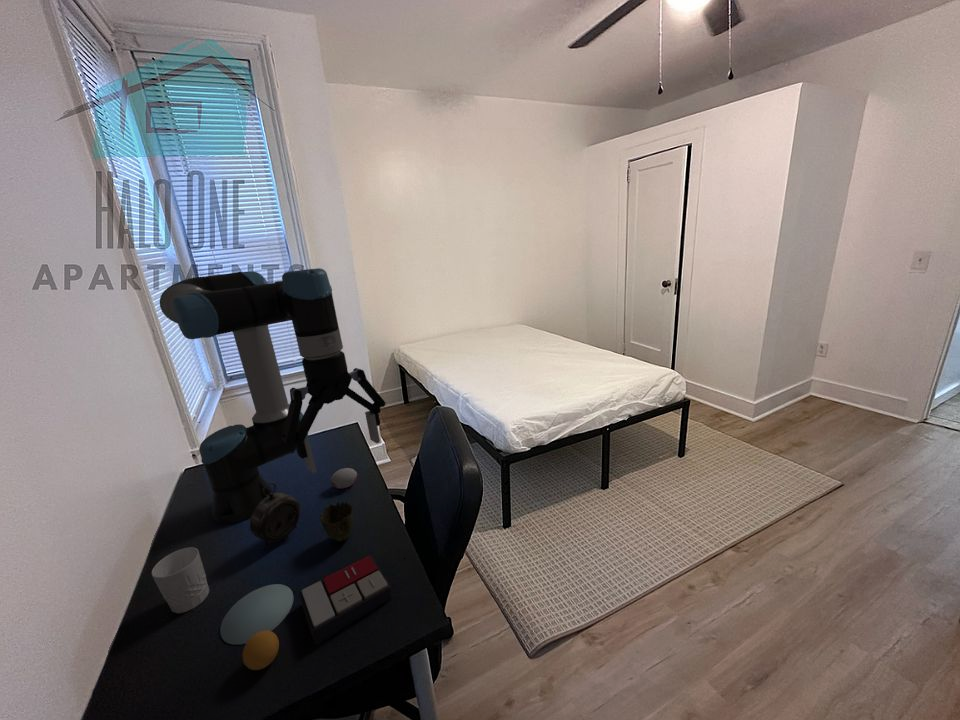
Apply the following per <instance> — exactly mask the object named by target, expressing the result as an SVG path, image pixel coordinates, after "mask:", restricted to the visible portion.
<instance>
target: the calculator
mask: <svg viewBox="0 0 960 720" xmlns="http://www.w3.org/2000/svg"><path fill="white" fill-rule="evenodd" d="M298 593H299V598H300V602H301V607H302V610H303V613H304V616H305V619H306V622H307V624H308V629H309V631H310V634H311V637H312V640H313V643H314V645H315V646H317V645H319V644H321V643H322V642H324V641H326V640H327V639H329V638H330V637H333V636H334V635H335V634H336V633H338V632H340V630H341V629H343V628H345V627H347V626H349V625H351V624H352V623H354V622H356V621H357V620H359V619H360V618H362V617H365V615H368V614H369V613H370V612H372V611H374V610H375V609H377V608H379V607H380V606H382V605H383V604H385V603H386V602H388V601H390V600H391V599H392V598H393V592H392V586H391V583H389V581H388V580H387V577H386V576H385V575H384V572H383V571H382V570H381V569H380V567H379V565H378V564H377V562H376V561H375V559H374V557H373V556H372V555H368V556H366V557H363V558H362V559H360V560H358V561H356V562H354V563H352V564H349V565H347V566H346V567H344V568H341V569H340V570H337V571H335V572H334V573H331V574H330V575H326V576H325V577H324V578H323V579H320V580H319V581H317V582H315V583H313V584H311V585H309V586H307V587H305V588H303V589H301V590H300V591H299V592H298Z"/></svg>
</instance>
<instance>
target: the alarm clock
mask: <svg viewBox="0 0 960 720" xmlns="http://www.w3.org/2000/svg"><path fill="white" fill-rule="evenodd" d="M269 484H272V485H273V486H274V489H273V490H272V492H271V493H269V495H265V494H264V489H265V487H266V486H267V485H269ZM276 489H277V485H276V483H275V482H273V481H269V482H267V484H266V485H265V486H264V488H263V495H264V496H267V497H266V498H264V499H263V500H262V501H261V502H260V503H259V504H258V505H257V506H256V508H255V509H254V511H253V513H252V516H251V517H250V518H249V519H250V520H249V528H250V531H251V533H252V534H253V535H254V536H255V537H256V538H258V539H260V540H262V541H263V542H264V546H263V547H262V550H263V551H265V550H266V548H267V546H268V544H269V543H275V542H279V541H281V540H283V539H284V540H285V541H286V542H287V543H289V542H290V538H289V534H291V533H292V532H293V531H294V529H295V528H297V527H298V526H297V524H298V522H299V520H300V517H301V505H300V502H299V501H298V499H296V498H295V497H294V496H292V495H289V494H287V493H284V492H275V491H276Z"/></svg>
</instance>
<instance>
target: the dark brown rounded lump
mask: <svg viewBox="0 0 960 720" xmlns="http://www.w3.org/2000/svg"><path fill="white" fill-rule="evenodd" d="M323 510H324V512H323V513H320V514H319V520H320V522H321V524H322V527H323V530H324V531H325V533H326V535H327V536H328V537H329V538H331V539H333V540H334V541H335V542H336V543H339V544H341V543H344V542H347V540H348V539H349V538H350V533H351V531H352V529H353V527H354V515H353V512H354V511H353V505H351V503H348V502H347V501H346V502H344V501H342V502H341V503H340V502H336V504H334V503H331V504H330V505H329V506H328V507H324V509H323Z"/></svg>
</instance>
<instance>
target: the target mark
mask: <svg viewBox="0 0 960 720" xmlns="http://www.w3.org/2000/svg"><path fill="white" fill-rule="evenodd" d="M293 604H294V594H293V591H292V590H291V588H290V587H288V586H287V585H285V584H280V583H278V584H277V583H275V584H269V585H265V586H262V587H259V588H257V589H254V590H253V591H251V592H248V594H246V595H244V596H243V597H242V598H240V599H239V600H238V601H236V603H234V604H233V605H232V606H231V608H230V609H228V612H227V613H226V614H225V615H224V617H223V619H222V621H221V624H220V628H219V629H220V630H219V632H220V637H221V639H222V640H223V641H224V642H225V643H227V644H230V645H233V646H239V645H246V643H247V642H248V640H249V639H250V638H251V637H252V636H253V635H255V634H256V633H258V632H260V631H265V630H267V631H271V632H273V630H275V629H276V628H277V627H278V626H280V624H282V622H283V621H284V620H285V618H286V617H287V616H288V615H289V613H290V611H291V610H292V607H293Z"/></svg>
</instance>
